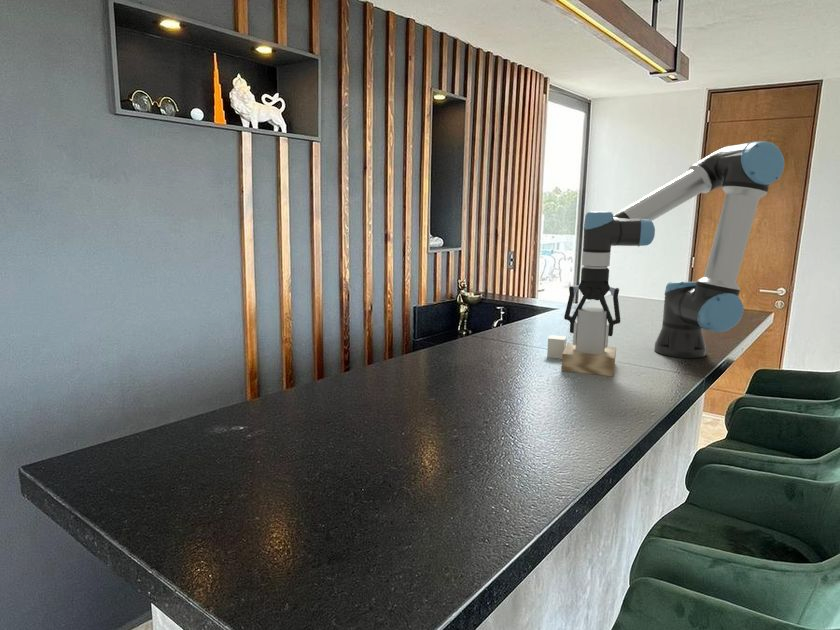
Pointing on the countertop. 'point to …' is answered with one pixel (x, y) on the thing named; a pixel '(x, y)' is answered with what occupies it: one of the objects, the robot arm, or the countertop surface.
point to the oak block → (588, 361)
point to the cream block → (556, 346)
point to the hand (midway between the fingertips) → (590, 345)
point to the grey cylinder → (591, 330)
